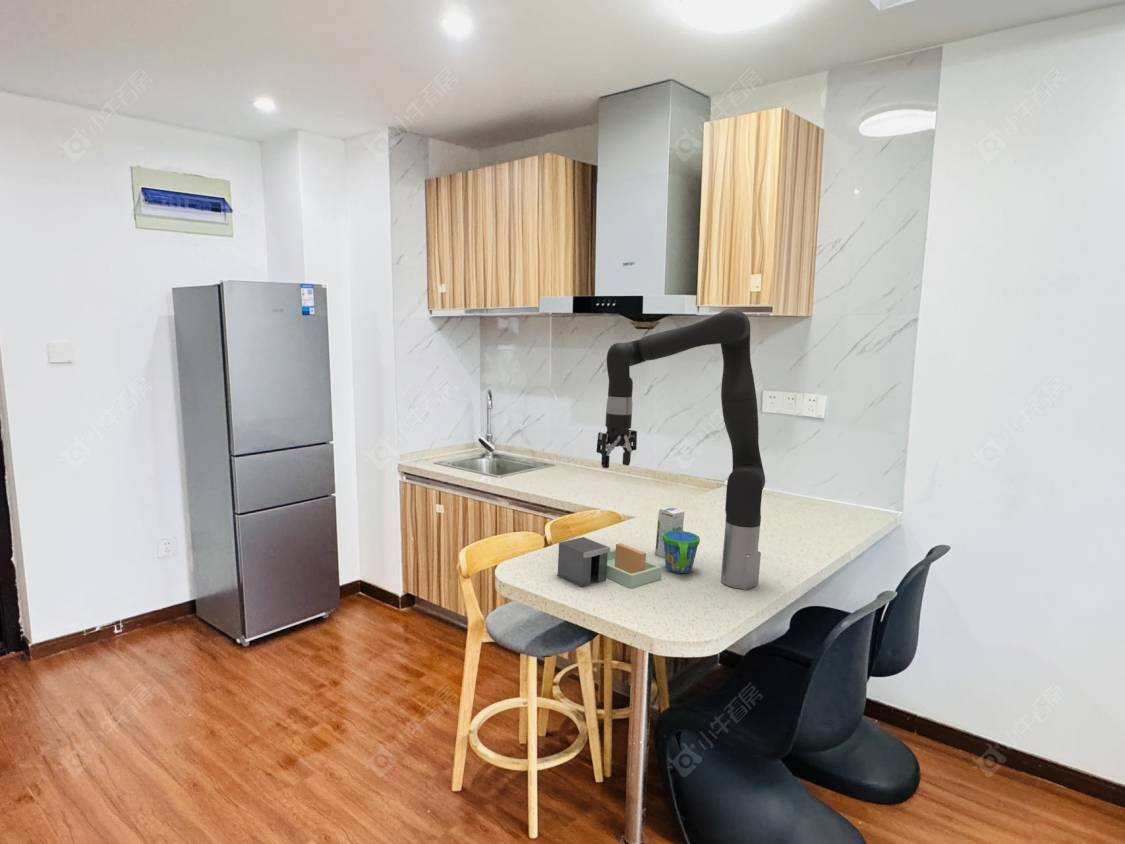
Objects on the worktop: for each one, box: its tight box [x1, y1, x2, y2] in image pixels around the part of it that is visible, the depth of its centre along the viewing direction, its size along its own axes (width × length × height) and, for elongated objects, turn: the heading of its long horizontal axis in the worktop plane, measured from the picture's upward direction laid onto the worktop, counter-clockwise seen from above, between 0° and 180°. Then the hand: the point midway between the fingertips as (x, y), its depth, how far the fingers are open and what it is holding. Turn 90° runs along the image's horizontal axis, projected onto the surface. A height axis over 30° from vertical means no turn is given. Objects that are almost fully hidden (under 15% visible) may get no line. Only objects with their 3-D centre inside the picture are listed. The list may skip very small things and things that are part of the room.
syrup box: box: [654, 506, 685, 558], centre depth 204 cm, size 6×6×14 cm
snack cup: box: [663, 530, 701, 574], centre depth 193 cm, size 16×10×10 cm
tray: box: [606, 548, 663, 589], centre depth 188 cm, size 18×12×4 cm, turn 40°
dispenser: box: [557, 536, 611, 588], centre depth 183 cm, size 11×9×10 cm
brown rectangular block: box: [615, 542, 647, 574], centre depth 186 cm, size 10×2×7 cm, turn 40°
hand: (615, 466), depth 196 cm, fingers open, 8 cm apart
